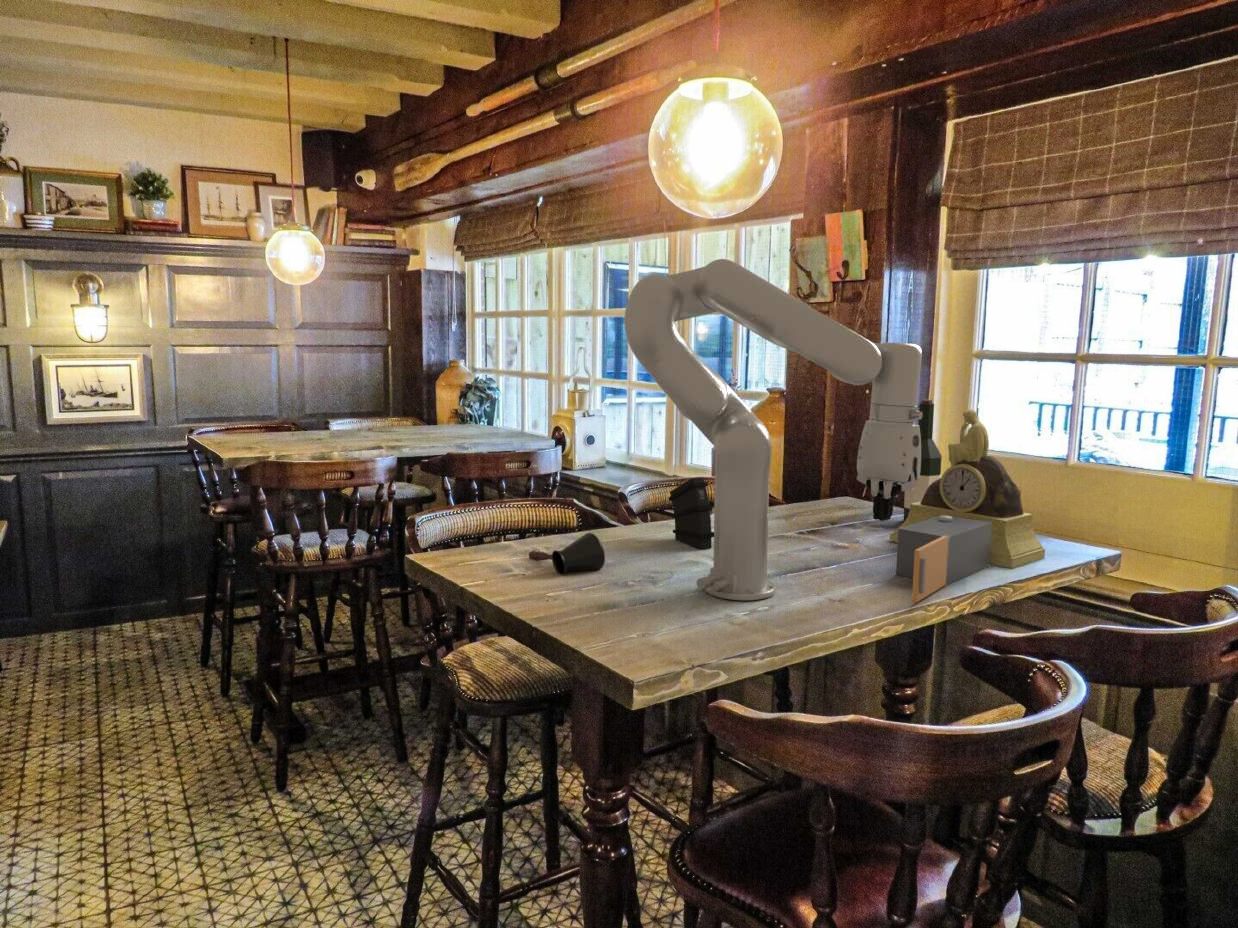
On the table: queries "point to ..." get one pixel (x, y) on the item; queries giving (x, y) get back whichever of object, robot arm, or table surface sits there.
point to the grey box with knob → (964, 546)
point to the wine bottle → (925, 458)
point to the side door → (930, 567)
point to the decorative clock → (980, 498)
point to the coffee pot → (575, 555)
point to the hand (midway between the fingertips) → (881, 518)
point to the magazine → (692, 514)
